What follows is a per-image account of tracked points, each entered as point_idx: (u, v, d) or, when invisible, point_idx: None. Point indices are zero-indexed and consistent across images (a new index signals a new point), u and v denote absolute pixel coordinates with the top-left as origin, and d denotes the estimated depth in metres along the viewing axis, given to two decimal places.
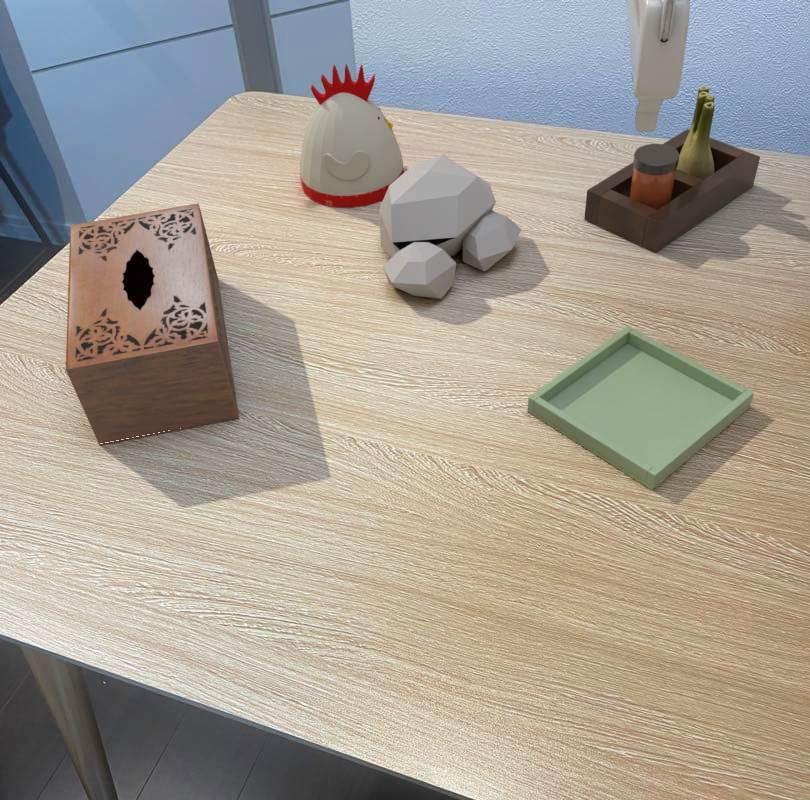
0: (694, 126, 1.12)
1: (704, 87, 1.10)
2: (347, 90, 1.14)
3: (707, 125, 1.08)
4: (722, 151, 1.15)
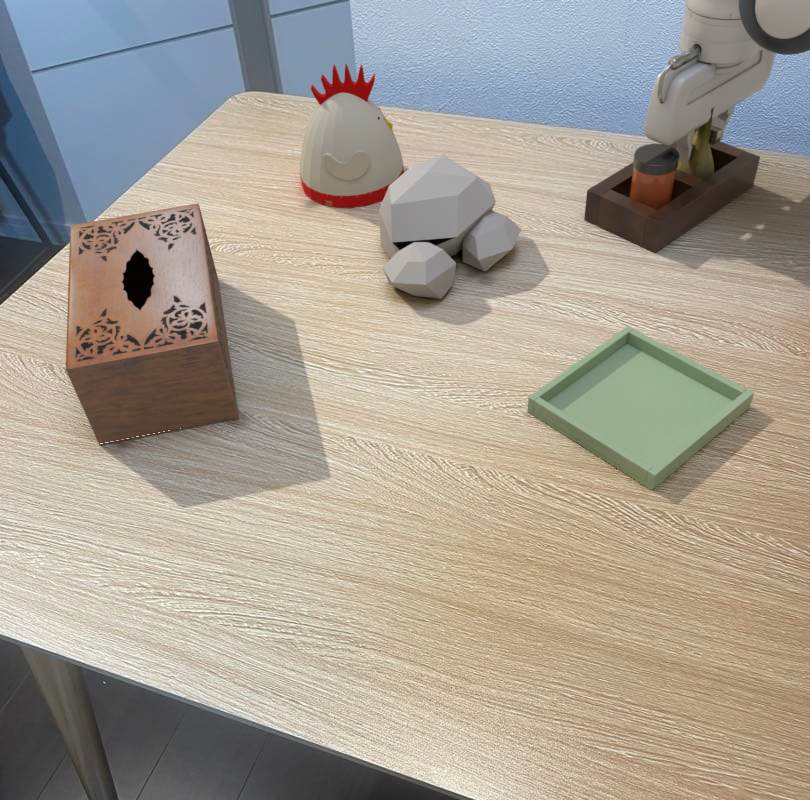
0: None
1: None
2: (347, 90, 1.14)
3: (707, 125, 1.08)
4: (722, 151, 1.15)
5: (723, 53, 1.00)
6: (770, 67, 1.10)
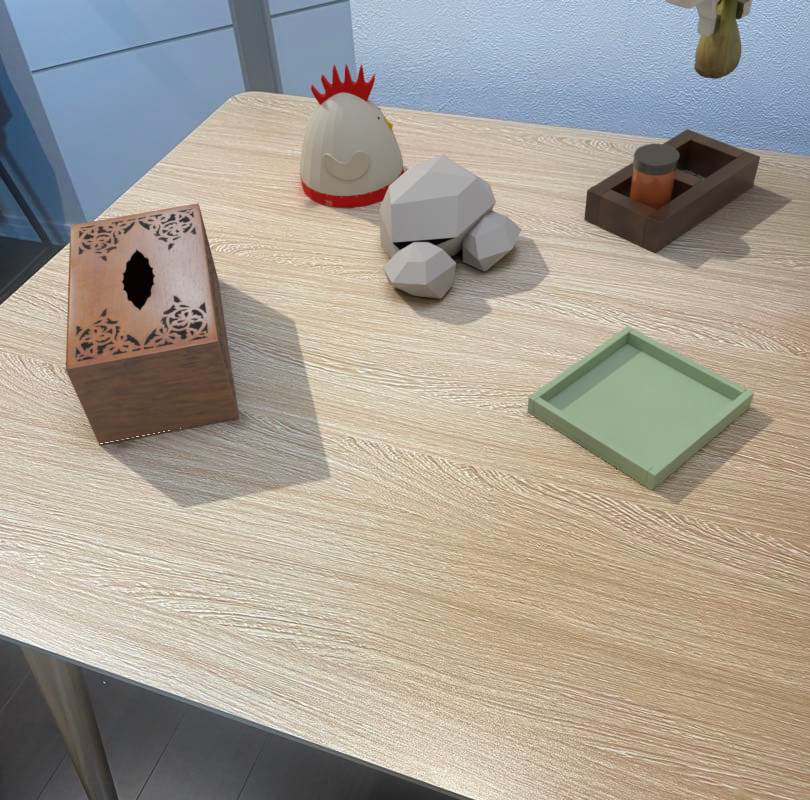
0: None
1: None
2: (347, 90, 1.14)
3: None
4: (722, 151, 1.15)
5: None
6: None
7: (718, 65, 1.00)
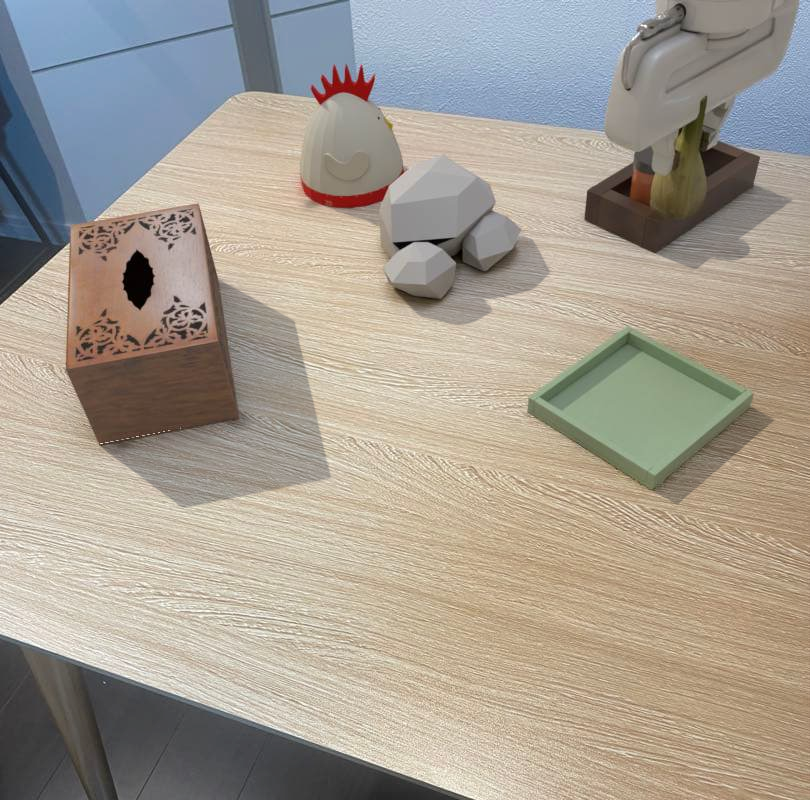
0: None
1: None
2: (347, 90, 1.14)
3: (697, 124, 0.76)
4: (722, 151, 1.15)
5: (718, 17, 0.68)
6: (786, 42, 0.78)
7: (678, 207, 0.82)
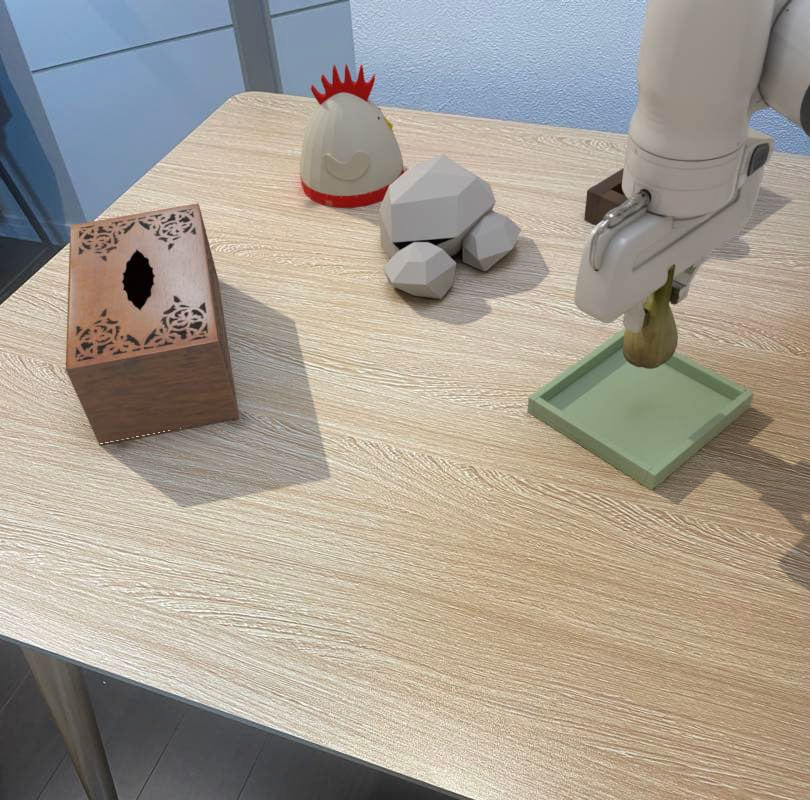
0: None
1: None
2: (347, 90, 1.14)
3: (666, 288, 0.78)
4: None
5: (682, 204, 0.70)
6: (752, 204, 0.80)
7: (650, 360, 0.83)
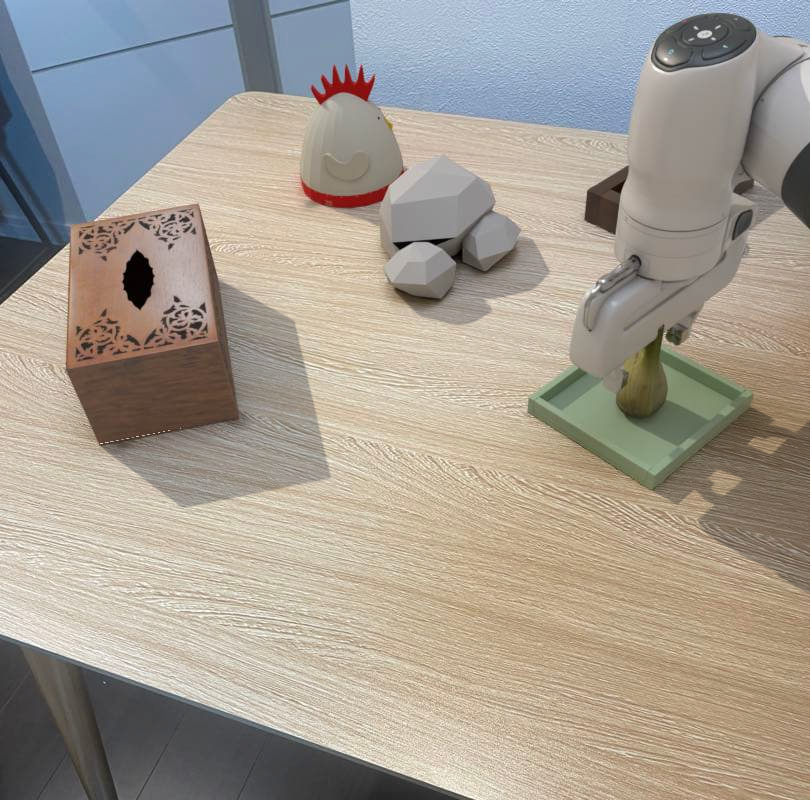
0: None
1: None
2: (347, 90, 1.14)
3: (656, 346, 0.83)
4: None
5: (670, 269, 0.74)
6: (738, 262, 0.84)
7: (641, 410, 0.88)
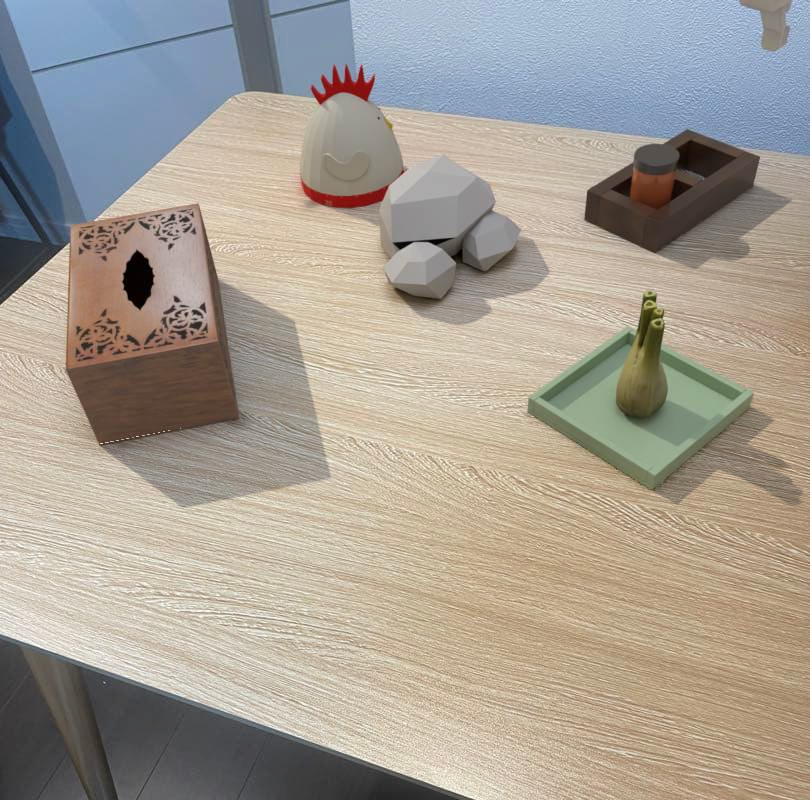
0: (639, 339, 0.86)
1: (650, 292, 0.85)
2: (347, 90, 1.14)
3: (656, 346, 0.83)
4: (722, 151, 1.15)
5: None
6: None
7: (641, 410, 0.88)
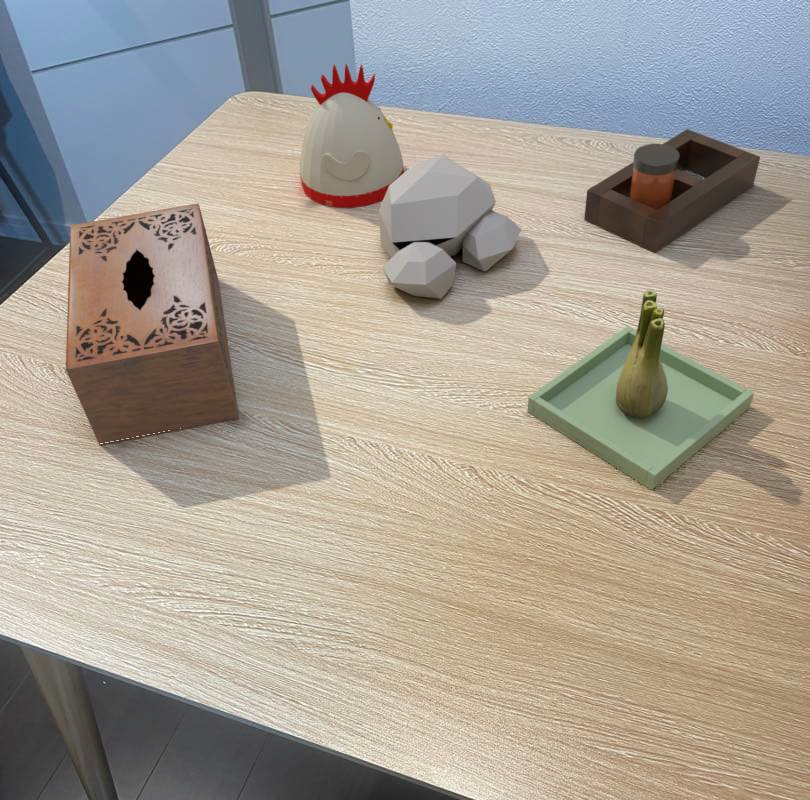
0: (639, 339, 0.86)
1: (650, 292, 0.85)
2: (347, 90, 1.14)
3: (656, 346, 0.83)
4: (722, 151, 1.15)
5: None
6: None
7: (641, 410, 0.88)
